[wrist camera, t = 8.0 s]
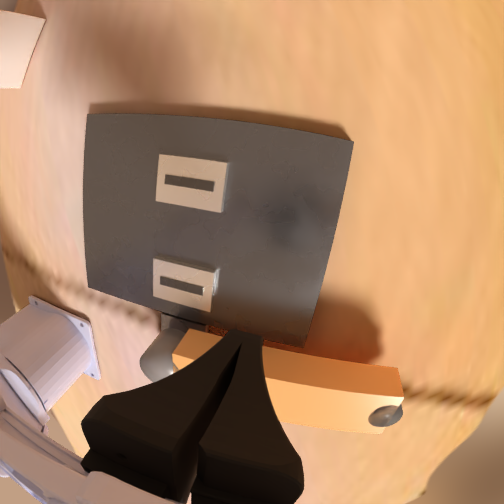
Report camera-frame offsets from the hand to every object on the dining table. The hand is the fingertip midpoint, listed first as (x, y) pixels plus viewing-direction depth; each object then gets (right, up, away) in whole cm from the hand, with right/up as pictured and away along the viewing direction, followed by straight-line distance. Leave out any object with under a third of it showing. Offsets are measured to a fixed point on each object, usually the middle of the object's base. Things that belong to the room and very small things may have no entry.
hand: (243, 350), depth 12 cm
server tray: (-4, +4, +9) cm, 11 cm away
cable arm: (+2, -4, +9) cm, 10 cm away
